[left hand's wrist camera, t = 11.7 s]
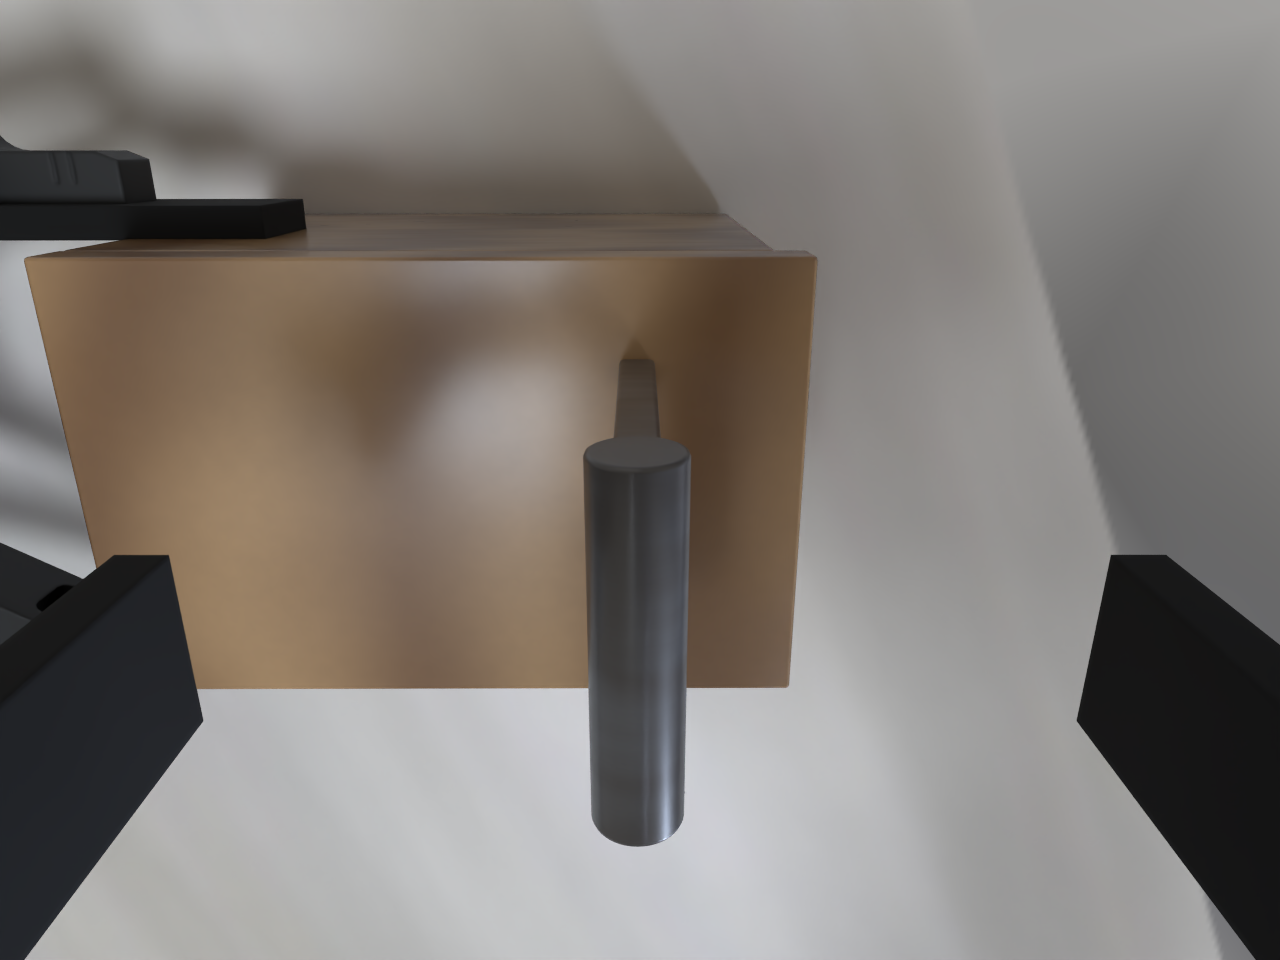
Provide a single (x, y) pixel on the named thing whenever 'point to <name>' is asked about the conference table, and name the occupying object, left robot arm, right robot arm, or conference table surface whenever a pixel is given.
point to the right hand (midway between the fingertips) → (312, 424)
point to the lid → (455, 471)
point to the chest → (482, 234)
